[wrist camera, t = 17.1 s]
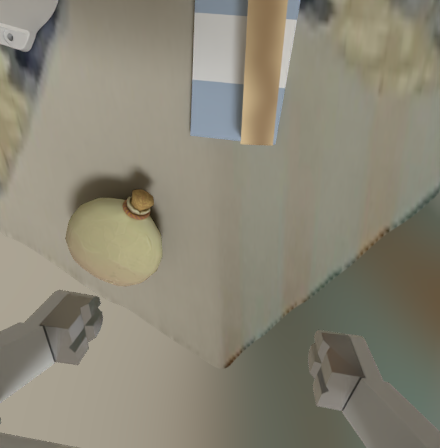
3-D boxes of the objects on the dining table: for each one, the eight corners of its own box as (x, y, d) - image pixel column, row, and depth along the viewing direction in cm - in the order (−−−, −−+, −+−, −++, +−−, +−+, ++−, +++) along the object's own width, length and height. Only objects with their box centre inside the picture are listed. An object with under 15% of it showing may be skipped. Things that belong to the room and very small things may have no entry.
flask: (75, 234, 49) (115, 154, 42) (148, 279, 51) (197, 210, 44) (38, 260, 40) (81, 166, 33) (127, 312, 43) (185, 235, 36)
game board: (192, 134, 38) (190, 135, 37) (203, -162, 26) (201, -173, 25) (274, 143, 37) (275, 144, 36) (327, -160, 25) (330, -171, 24)
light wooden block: (242, 139, 37) (240, 144, 33) (253, -57, 28) (252, -79, 24) (271, 140, 36) (272, 145, 33) (291, -58, 27) (296, -82, 24)
